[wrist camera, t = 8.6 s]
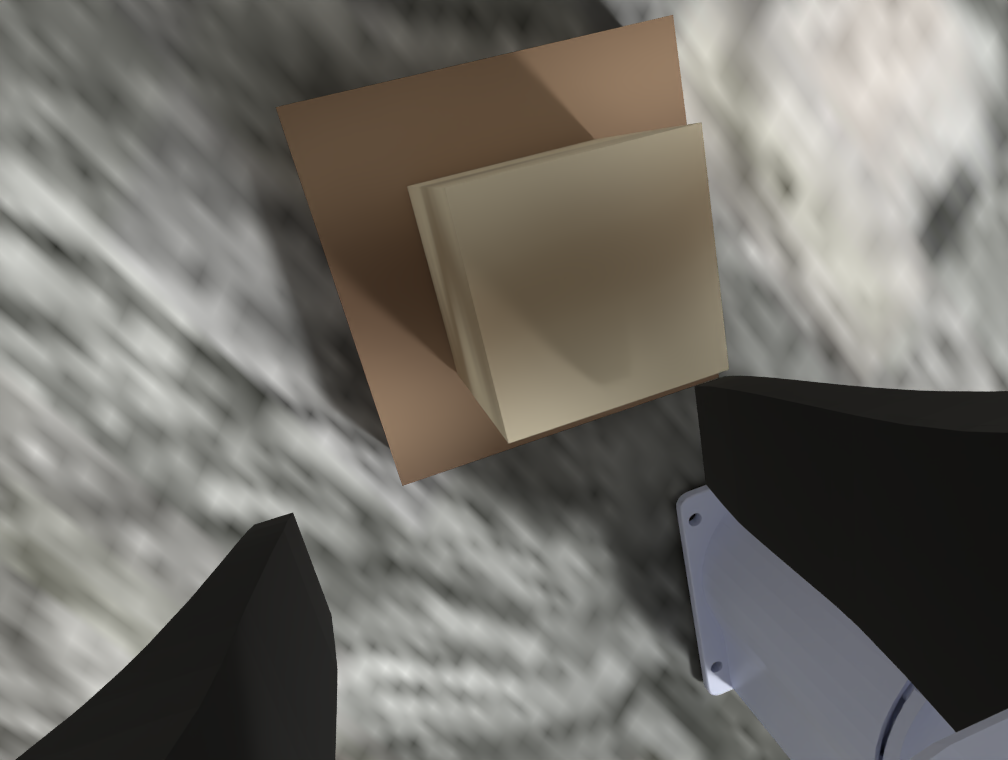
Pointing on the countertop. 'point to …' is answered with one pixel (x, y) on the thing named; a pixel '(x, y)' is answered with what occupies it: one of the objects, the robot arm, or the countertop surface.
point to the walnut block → (443, 152)
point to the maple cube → (577, 276)
